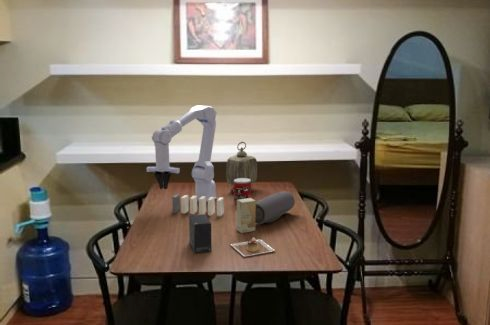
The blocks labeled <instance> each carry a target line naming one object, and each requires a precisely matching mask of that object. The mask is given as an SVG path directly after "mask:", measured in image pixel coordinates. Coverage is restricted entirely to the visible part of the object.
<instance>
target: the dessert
mask: <svg viewBox="0 0 490 325" xmlns="http://www.w3.org/2000/svg"><path fill="white" fill-rule="evenodd" d="M258 243H260V244H261V245H262V246H263V247H264V248H266V249H267V250H268V251H264V252H259V253H253V254H249V255H248V254H247V255H245V254H244V253H243V252H241V251H240V250H239V249H238V248H237V247H239V245H240V246H245V245H246V248H245V249H246V251H247V252H257V251H259V250H260V248H259V244H258ZM229 245H230V246H231V247H232V248H233V249H235V251H237V252H238V253H239V254H240V255H241V256H242V257H244V258H247V257H251V256H257V255H263V254H268V253H272V252H276V250H275V249H274V248H273V247H272V246H270V245H269V244H268V243H266V242H265V241H264V240H263V239H262V238H260V239H259V238H258V239H256V238H255V237H252V238H251V239H250V240H248V241H241V242H235V243H231V244H229Z"/></svg>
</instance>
